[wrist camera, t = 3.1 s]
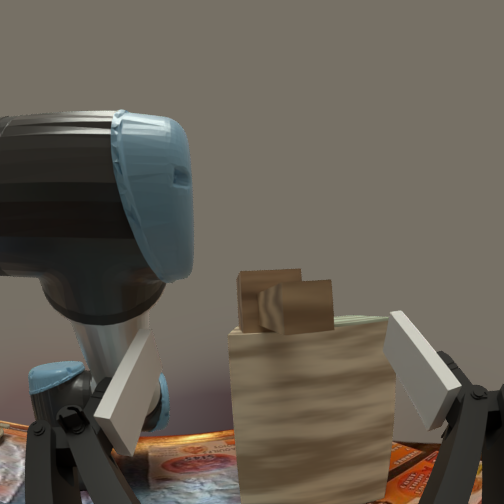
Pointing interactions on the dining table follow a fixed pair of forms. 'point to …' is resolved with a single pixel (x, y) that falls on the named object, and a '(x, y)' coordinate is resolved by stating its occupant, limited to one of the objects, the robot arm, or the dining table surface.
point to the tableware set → (6, 426)
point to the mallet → (283, 303)
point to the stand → (313, 413)
